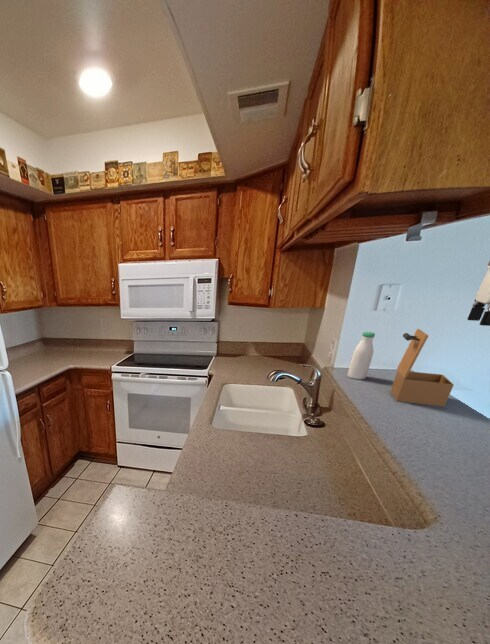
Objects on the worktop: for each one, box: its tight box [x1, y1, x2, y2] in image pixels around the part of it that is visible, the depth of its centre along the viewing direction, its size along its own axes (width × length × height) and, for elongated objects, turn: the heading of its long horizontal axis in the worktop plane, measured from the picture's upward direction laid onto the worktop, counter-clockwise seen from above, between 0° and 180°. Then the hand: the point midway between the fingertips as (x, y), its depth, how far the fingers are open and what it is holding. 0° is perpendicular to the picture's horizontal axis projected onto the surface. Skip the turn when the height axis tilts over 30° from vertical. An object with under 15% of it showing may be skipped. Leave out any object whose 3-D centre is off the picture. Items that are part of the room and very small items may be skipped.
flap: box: [396, 328, 429, 379], centre depth 123 cm, size 16×12×5 cm
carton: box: [390, 370, 454, 407], centre depth 126 cm, size 15×12×9 cm
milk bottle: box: [347, 331, 376, 380], centre depth 146 cm, size 8×8×20 cm
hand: (479, 322), depth 105 cm, fingers open, 9 cm apart
